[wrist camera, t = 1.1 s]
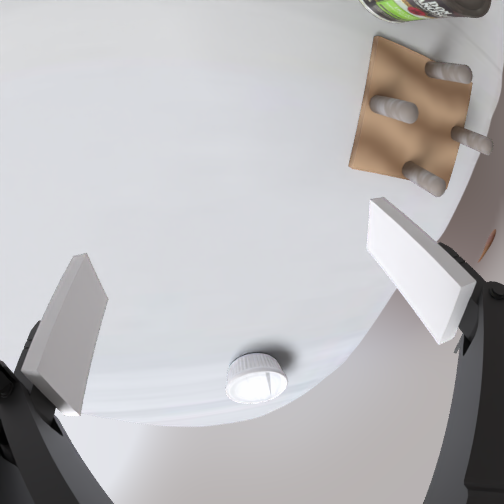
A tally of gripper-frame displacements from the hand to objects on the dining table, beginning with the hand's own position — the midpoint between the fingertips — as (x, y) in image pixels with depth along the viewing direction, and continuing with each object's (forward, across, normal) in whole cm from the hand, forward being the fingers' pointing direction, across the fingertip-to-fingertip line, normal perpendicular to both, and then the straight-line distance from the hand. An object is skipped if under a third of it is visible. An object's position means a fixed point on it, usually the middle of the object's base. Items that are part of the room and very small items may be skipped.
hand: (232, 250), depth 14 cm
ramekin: (+24, 0, -42) cm, 48 cm away
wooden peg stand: (+24, +28, 0) cm, 37 cm away
